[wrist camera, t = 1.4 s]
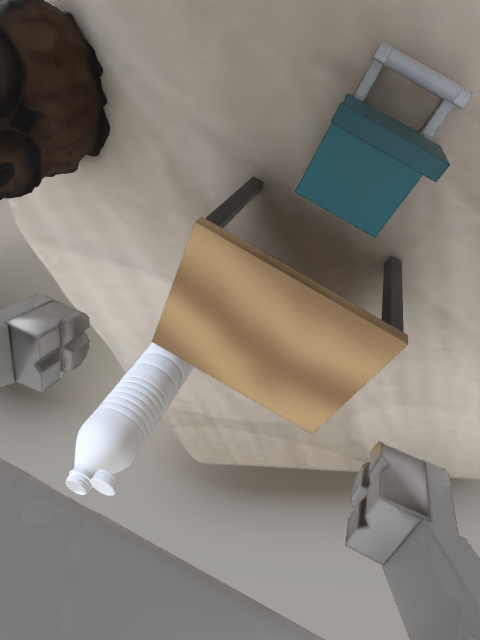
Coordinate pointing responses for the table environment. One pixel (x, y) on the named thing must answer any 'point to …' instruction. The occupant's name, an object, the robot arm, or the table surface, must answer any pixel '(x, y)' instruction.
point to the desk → (274, 323)
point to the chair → (378, 149)
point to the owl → (46, 96)
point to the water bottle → (125, 420)
